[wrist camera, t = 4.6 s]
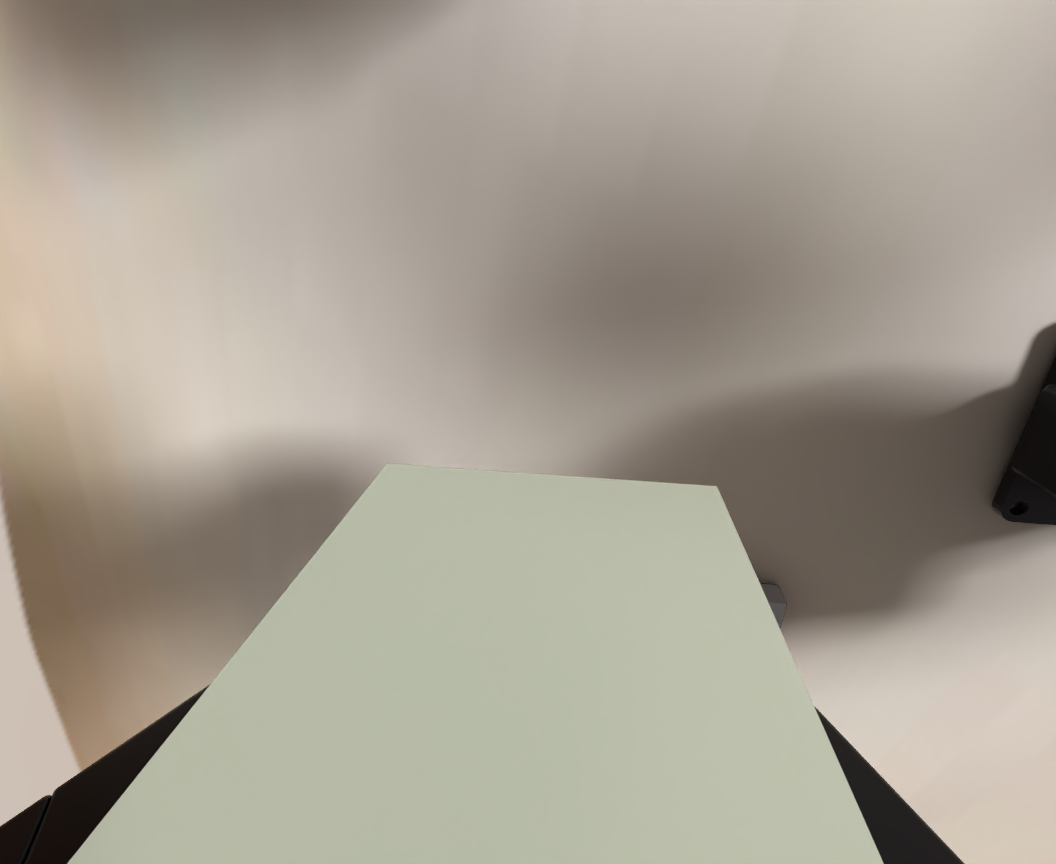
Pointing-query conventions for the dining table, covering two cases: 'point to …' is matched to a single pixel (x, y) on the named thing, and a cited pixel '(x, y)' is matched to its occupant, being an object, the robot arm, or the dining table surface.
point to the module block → (504, 696)
